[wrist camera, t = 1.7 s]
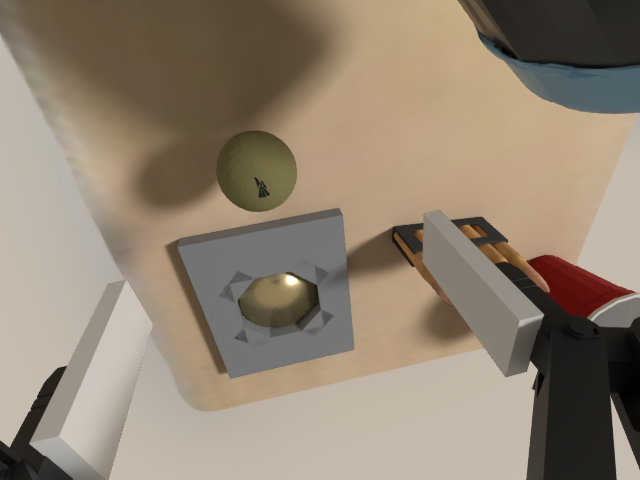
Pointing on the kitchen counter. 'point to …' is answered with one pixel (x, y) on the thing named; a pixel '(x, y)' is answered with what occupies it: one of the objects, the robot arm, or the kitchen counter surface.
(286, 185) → the light bulb
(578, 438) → the robot arm
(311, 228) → the socket plate
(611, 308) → the plastic cup
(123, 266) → the kitchen counter surface
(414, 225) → the ammunition clip
